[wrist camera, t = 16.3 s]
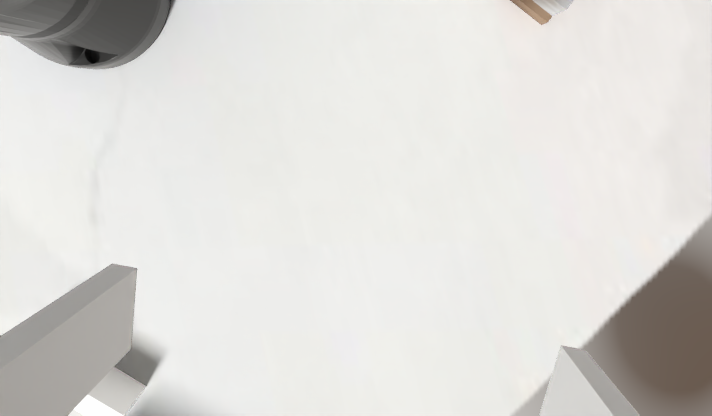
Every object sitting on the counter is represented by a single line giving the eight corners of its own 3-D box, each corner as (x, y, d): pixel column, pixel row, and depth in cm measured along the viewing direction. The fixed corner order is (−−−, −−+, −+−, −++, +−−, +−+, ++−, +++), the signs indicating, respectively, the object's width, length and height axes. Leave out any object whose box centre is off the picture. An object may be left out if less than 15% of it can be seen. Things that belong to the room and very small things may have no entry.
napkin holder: (24, 317, 51) (-19, 345, 45) (120, 290, 50) (89, 315, 44) (82, 433, 54) (49, 473, 48) (174, 411, 53) (150, 448, 47)
